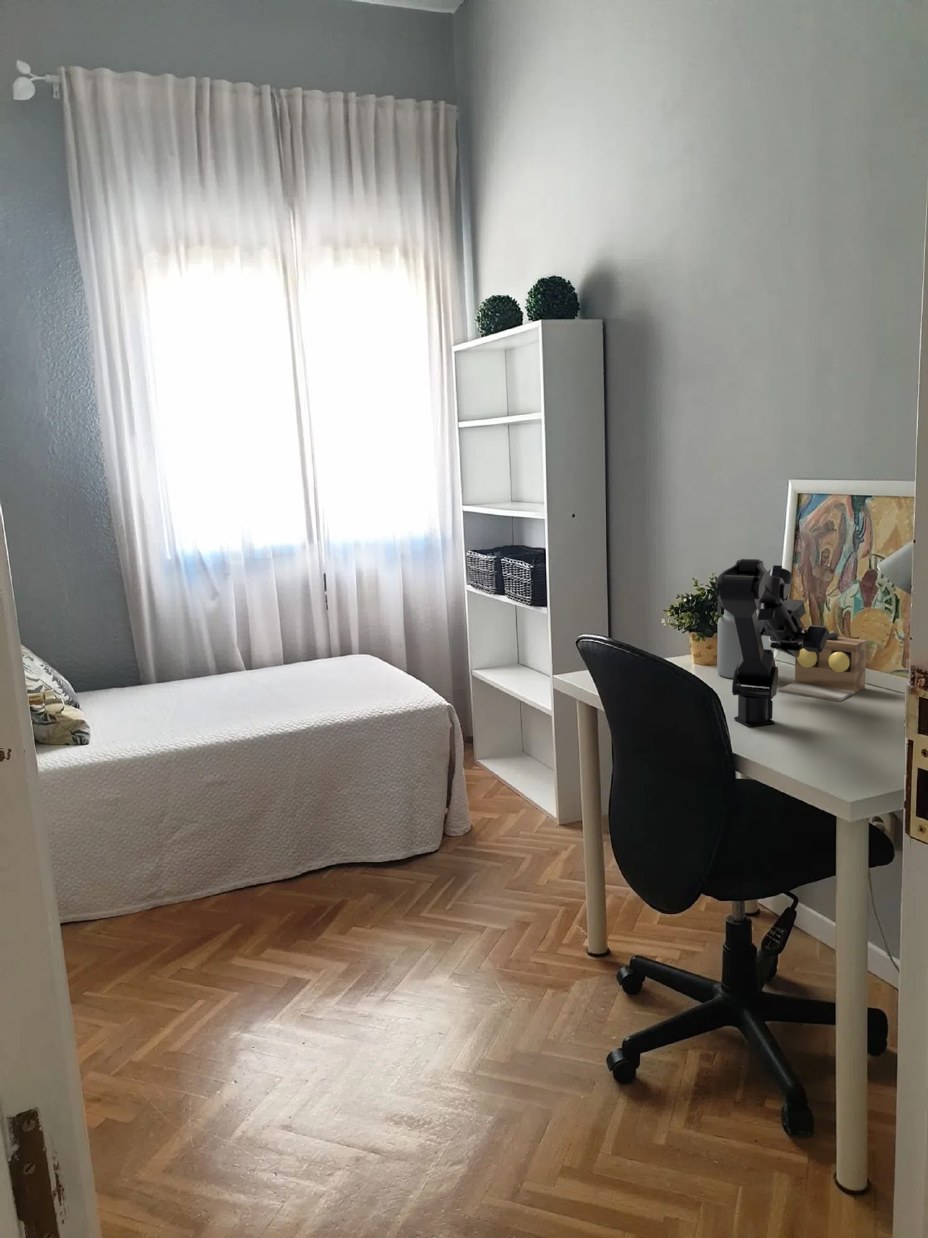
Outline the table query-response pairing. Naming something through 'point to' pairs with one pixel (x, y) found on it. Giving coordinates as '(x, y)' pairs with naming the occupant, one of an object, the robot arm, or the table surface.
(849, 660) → the knob right
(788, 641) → the robot arm
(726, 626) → the water bottle
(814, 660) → the knob left
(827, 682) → the console
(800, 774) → the table surface
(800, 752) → the table surface
